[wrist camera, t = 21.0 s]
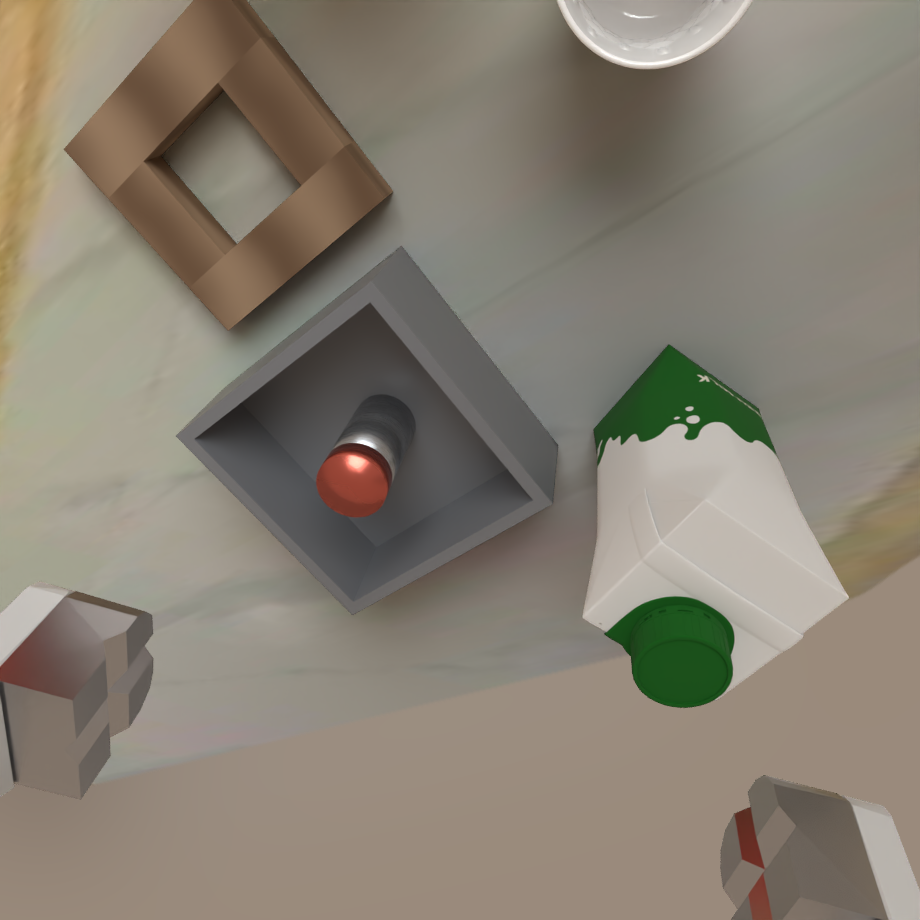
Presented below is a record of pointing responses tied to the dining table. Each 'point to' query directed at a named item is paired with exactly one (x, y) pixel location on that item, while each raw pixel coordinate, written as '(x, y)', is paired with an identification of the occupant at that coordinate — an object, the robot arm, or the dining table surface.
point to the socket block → (274, 117)
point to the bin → (426, 460)
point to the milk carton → (698, 538)
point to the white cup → (651, 28)
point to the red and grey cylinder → (366, 457)
